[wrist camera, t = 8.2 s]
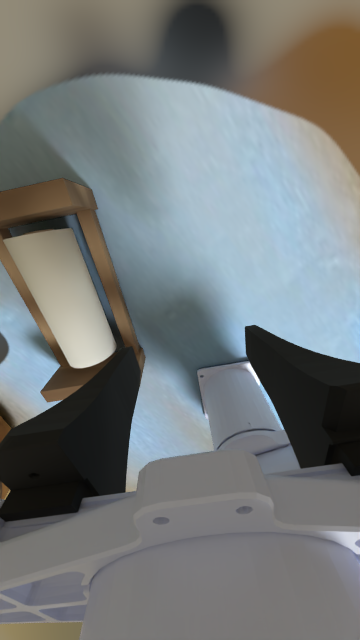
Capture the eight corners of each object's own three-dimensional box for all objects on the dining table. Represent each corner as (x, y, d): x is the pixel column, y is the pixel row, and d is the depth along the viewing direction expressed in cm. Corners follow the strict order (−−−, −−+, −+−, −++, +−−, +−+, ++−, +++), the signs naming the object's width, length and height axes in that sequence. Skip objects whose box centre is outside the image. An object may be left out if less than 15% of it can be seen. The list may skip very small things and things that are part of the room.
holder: (145, 357, 25) (139, 387, 20) (69, 370, 25) (47, 402, 21) (91, 189, 17) (62, 178, 13) (-18, 213, 17) (-84, 210, 13)
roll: (109, 336, 25) (123, 352, 21) (66, 355, 22) (74, 377, 19) (66, 228, 19) (75, 223, 15) (4, 239, 17) (-3, 235, 13)
